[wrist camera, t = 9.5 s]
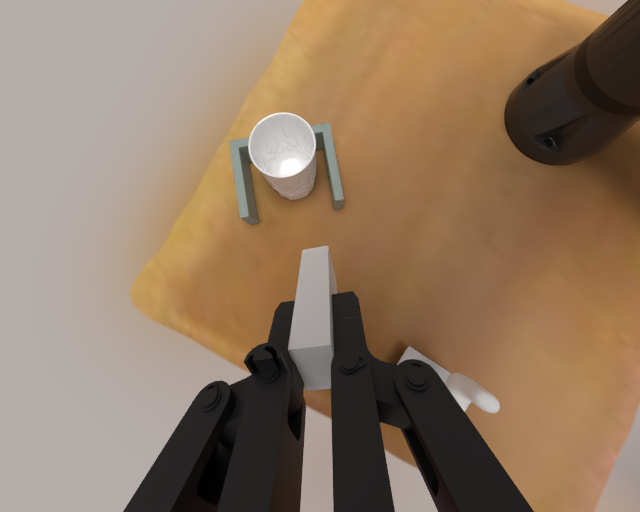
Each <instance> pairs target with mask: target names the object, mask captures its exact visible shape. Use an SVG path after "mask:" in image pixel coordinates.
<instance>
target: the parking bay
mask: <svg viewBox="0 0 640 512" xmlns="http://www.w3.org/2000/svg"><path fill="white" fill-rule="evenodd" d="M310 127H311V128H312V130H313V132H314V135H315V139H316V150H320V149H323V151H324V156H325V162H326V167H327V172H328V178H329V183H330V189H331V194H332V200H333V205H334V210H336V209H341V208H342V206H343V201H344V197H343V192H342V186H341V181H340V176H339V170H338V165H337V160H336V154H335V149H334V144H333V138H332V133H331V128H330V122H328V123H322V124H317V125H312V126H310ZM249 138H250V137H248V138H243V139H238V140H232V141H229V144H230V151H231V158H232V165H233V172H234V178H235V185H236V192H237V199H238V205H239V212H240V218H241V219H243V220H244V221H246V222H248V223H249V224H251V225H253V224H258V216H257V210H256V203H255V197H254V190H253V184H252V178H251V171H250V165H249V163H251V162H252V160H251V158H250V155H249V150H248V143H249Z"/></svg>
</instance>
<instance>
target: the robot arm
mask: <svg viewBox="0 0 640 512" xmlns="http://www.w3.org/2000/svg"><path fill="white" fill-rule="evenodd" d="M639 120H640V0H628V1H627V2H626V3H624V4H623V5H622V6H621V7H620V8H619V9H618V10H617V11H616V12H615V13H614V14H612V15H611V16H610V17H609V18H608V19H607V20H606V21H605V22H603V23H602V24H601V25H600V26H599V27H598V28H597V29H596V30H595V31H594V32H593V33H592V34H590V35H589V36H588V37H587V38H586V39H585V40H584V41H583V42H581V43H580V44H578V45H576V46H575V47H573V48H571V49H569V50H568V51H566V52H564V53H563V54H561V55H559V56H557V57H556V58H554V59H552V60H551V61H549V62H547V63H546V64H544V65H542V66H540V67H539V68H537V69H536V70H534V71H533V72H532V73H531V74H529V75H528V76H527V77H526V78H525V79H524V80H523V81H522V82H521V83H520V84H519V85H518V86H517V87H516V88H515V90H514V91H513V92H512V94H511V95H510V97H509V99H508V102H507V105H506V111H505V121H506V127H507V130H508V133H509V135H510V137H511V139H512V140H513V142H514V143H515V145H516V146H517V147H518V148H519V149H520V150H521V151H522V152H523V153H525V154H526V155H527V156H529V157H531V158H533V159H534V160H537V161H539V162H542V163H546V164H551V165H566V164H571V163H575V162H578V161H580V160H582V159H585V158H587V157H589V156H591V155H593V154H595V153H597V152H599V151H601V150H602V149H604V148H605V147H607V146H608V145H609V144H610V143H612V142H613V141H614V140H615V139H617V138H618V137H619V136H620V135H621V134H623V133H624V132H625V131H626V130H628V129H629V128H630V127H631V126H632V125H634V124H635V123H636V122H637V121H639ZM244 363H245V365H246V366H247V368H248V369H249V371H250V372H251V374H252V375H251V376H249V377H247V378H245V379H243V380H241V381H238V382H236V383H234V384H232V385H228V384H227V383H226V382H224V381H215V382H213V383H210V384H208V385H207V386H206V387H204V388H203V389H202V390H201V391H200V392H199V394H198V395H197V396H196V398H195V399H194V401H193V402H192V404H191V406H190V407H189V409H188V410H187V412H186V413H185V415H184V417H183V418H182V420H181V421H180V423H179V424H178V426H177V428H176V429H175V431H174V432H173V434H172V435H171V437H170V439H169V440H168V442H167V444H166V445H165V447H164V448H163V450H162V451H161V453H160V454H159V456H158V458H157V459H156V461H155V463H154V464H153V466H152V467H151V469H150V470H149V472H148V473H147V475H146V477H145V478H144V480H143V481H142V483H141V484H140V486H139V488H138V489H137V491H136V492H135V494H134V496H133V497H132V499H131V500H130V502H129V504H128V505H127V507H126V508H125V510H124V511H123V512H300V500H301V483H302V466H303V447H304V431H305V414H306V413H305V412H306V404H305V400H304V398H303V389H304V386H305V388H306V390H307V391H311V390H321V389H331V406H332V453H333V498H334V499H333V500H334V512H395V510H394V505H393V499H392V493H391V487H390V481H389V475H388V469H387V464H386V457H385V452H384V446H383V440H382V434H381V428H380V422H382V423H386V424H389V425H392V426H395V427H399V428H401V431H402V433H403V435H404V437H405V439H406V442H407V444H408V446H409V448H410V450H411V453H412V455H413V457H414V459H415V461H416V464H417V466H418V468H419V470H420V472H421V475H422V476H423V479H424V481H425V483H426V486H427V488H428V490H429V492H430V494H431V497H432V499H433V501H434V503H435V505H436V507H437V510H438V512H534V511H533V510H532V508H531V507H530V505H529V504H528V502H527V501H526V500H525V498H524V497H523V495H522V494H521V492H520V491H519V490H518V488H517V487H516V485H515V484H514V482H513V481H512V480H511V478H510V477H509V475H508V474H507V472H506V471H505V470H504V468H503V467H502V465H501V464H500V462H499V461H498V459H497V458H496V457H495V455H494V454H493V452H492V451H491V449H490V448H489V447H488V445H487V444H486V442H485V441H484V439H483V438H482V437H481V435H480V434H479V432H478V431H477V429H476V428H475V427H474V425H473V424H472V422H471V421H470V419H469V418H468V416H467V415H466V414H465V412H464V411H463V409H462V408H461V406H460V405H459V404H458V402H457V401H456V399H455V398H454V396H453V395H452V394H451V392H450V391H449V389H448V388H447V386H446V385H445V383H444V382H443V381H442V379H441V378H440V376H439V375H438V373H437V372H436V371H435V370H434V369H433V368H432V367H431V366H430V365H429V364H427V363H425V362H423V361H421V360H416V359H409V360H404V361H403V362H401V363H399V364H398V365H395V364H391V363H386V362H383V361H380V360H378V359H376V358H375V357H374V356H373V355H372V354H371V353H370V352H369V350H368V349H367V345H366V341H365V335H364V329H363V323H362V318H361V312H360V306H359V300H358V298H357V296H356V295H355V294H354V293H353V291H351V292H345V293H338V294H337V285H336V278H335V274H334V270H333V265H332V261H331V256H330V252H329V247H328V246H322V247H316V248H311V249H305V250H303V251H302V257H301V264H300V271H299V278H298V284H297V291H296V298H295V301H289V302H282V303H280V305H279V306H278V308H277V309H276V311H275V314H274V318H273V322H272V326H271V331H270V335H269V339H268V343H264V344H260V345H258V346H257V347H255V348H253V349H252V350H251V351H250V352H249V353H248V355H247V356H246V358H245V360H244Z"/></svg>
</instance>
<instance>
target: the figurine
mask: <svg viewBox="0 0 640 512" xmlns="http://www.w3.org/2000/svg"><path fill="white" fill-rule="evenodd" d="M409 359H416V360H421V361H423V362H425V363H427V364H429V365H430V366H431V367H432V368H433V369H434V370H435V371H436V372H437V373H438V375H439V376H440V378H441V379H442V381H443V382H444V383H445V385H446V386H447V388H448V389H449V391H450V392H451V394H452V395H453V396H454V398H455V399H456V401H457V402H458V404H459V405H460V406H461V408H462V409H463V411H464V412H465V411H466V409H467V407H468V406H469V404H470V403H471V402H473V403H474V404H476V405H477V406H478V407H479V408H481V409H482V410H484V411H486V412H489V413H496V412H498V411H499V409H500V405H499V402H498V400H497V399H496V398H495V397H494V396H493V395H492V394H491V393H490V392H488V391H487V390H486V389H484V388H483V387H481V386H480V385H479V384H477V383H476V382H475V381H473V380H472V379H470V378H469V377H467V376H465V375H463V374H461V373H457V372H455V373H452V374H451V373H449V372H448V371H446V370H445V369H443V368H442V367H440V366H439V365H437V364H436V363H434V362H433V361H431V360H430V359H428V358H427V357H425V356H424V355H422V354H420V353H419V352H417V351H416V350H414V349H413V348H411V347H410V346H409V347H408V348H407V349H406V350H405V352H404V353H403V355H402V356H401V358H400V360H399V361H398V363H397V365H398V364H399V363H401V362H403V361H404V360H409Z"/></svg>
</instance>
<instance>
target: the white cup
mask: <svg viewBox="0 0 640 512" xmlns="http://www.w3.org/2000/svg"><path fill="white" fill-rule="evenodd" d="M248 150H249V155H250V158H251V160H252V162H253V163H254V165H255V166H256V167H257V169H258V170H259V171H260V172H261V174H262V175H263V176H264V178H265V179H266V180H267V181H268V183H269V184H270V185H271V186H272V187H273V188H274V189H275V190H276V191H277V192H278V193H279V194H280V195H281V196H282V197H284V198H287V199H289V200H295V199H301V198H303V197H305V196H307V195H308V194H309V193H310V192H311V190H312V189H313V187H314V184H315V178H316V139H315V135H314V132H313V130H312V128H311V127H310V125H309V124H308V123H307V122H306V121H305V120H304V119H303V118H301V117H299V116H297V115H295V114H292V113H285V112H282V113H275V114H271V115H269V116H267V117H265V118H263V119H262V120H261V121H260V122H259V123H258V124H257V125H256V126H255V127H254V129H253V130H252V132H251V135H250V138H249V143H248Z"/></svg>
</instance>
